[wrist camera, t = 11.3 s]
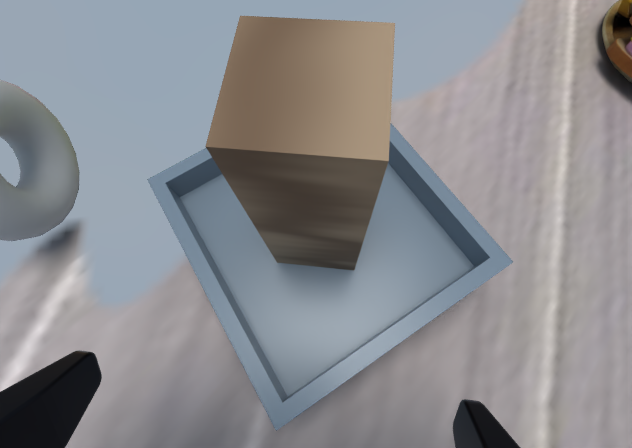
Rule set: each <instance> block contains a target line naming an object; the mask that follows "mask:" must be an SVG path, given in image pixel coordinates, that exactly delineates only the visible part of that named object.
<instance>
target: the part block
mask: <svg viewBox="0 0 632 448" xmlns="http://www.w3.org/2000/svg"><path fill="white" fill-rule="evenodd" d="M394 32H395V23H382V22H361V21H340V20H319V19H318V20H317V19H298V18H277V17H256V16H255V17H254V16H240V18H239V22H238V26H237V29H236V33H235V37H234V41H233V45H232V49H231V52H230V56H229V60H228V64H227V67H226V71H225V75H224V79H223V82H222V86H221V90H220V94H219V98H218V101H217V105H216V109H215V113H214V117H213V120H212V124H211V128H210V132H209V135H208V139H207V143H206V148H207V150H208V151H209V153H210V155H211V156H212V158H213V160H214V161H215V163H216V164H217V166H218V168H219V169H220V171H221V173H222V174H223V176H224V177H225V179H226V181H227V182H228V184H229V186H230V187H231V189H232V190H233V192H234V194H235V195H236V197H237V199H238V200H239V202H240V203H241V205H242V207H243V208H244V210H245V211H246V213H247V215H248V216H249V218H250V220H251V221H252V223H253V224H254V226H255V228H256V229H257V231H258V233H259V234H260V236H261V237H262V239H263V241H264V242H265V244H266V246H267V247H268V249H269V250H270V252H271V254H272V255H273V257H274V259H275V260H276V262H277V263H286V264H296V265H306V266H315V267H325V268H335V269H344V270H355V266H356V263H357V260H358V257H359V254H360V251H361V247H362V244H363V241H364V238H365V235H366V232H367V228H368V225H369V222H370V219H371V216H372V212H373V209H374V206H375V203H376V200H377V197H378V193H379V190H380V187H381V184H382V181H383V177H384V174H385V171H386V168H387V165H388V162H389V143H390V121H391V99H392V77H393V54H394Z"/></svg>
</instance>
